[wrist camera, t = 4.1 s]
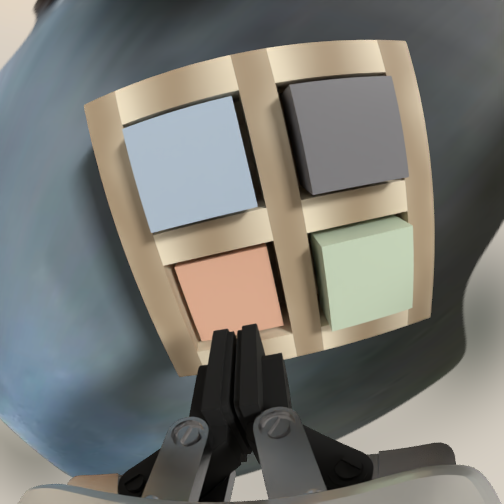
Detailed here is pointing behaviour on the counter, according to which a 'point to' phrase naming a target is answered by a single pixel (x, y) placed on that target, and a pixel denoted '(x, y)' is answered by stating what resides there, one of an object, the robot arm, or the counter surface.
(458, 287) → the counter surface
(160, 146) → the key pale blue
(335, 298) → the key sage
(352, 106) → the key charcoal
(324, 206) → the wooden puzzle board
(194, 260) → the key terracotta
